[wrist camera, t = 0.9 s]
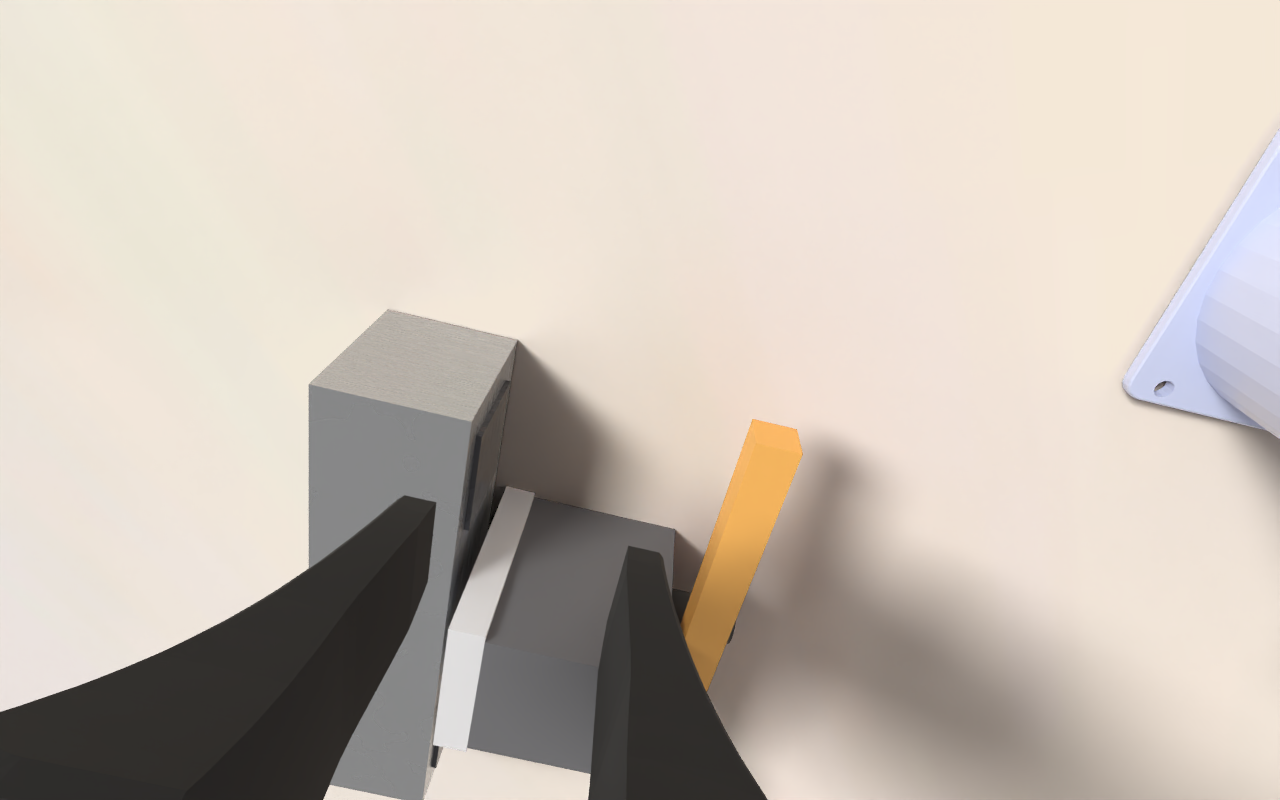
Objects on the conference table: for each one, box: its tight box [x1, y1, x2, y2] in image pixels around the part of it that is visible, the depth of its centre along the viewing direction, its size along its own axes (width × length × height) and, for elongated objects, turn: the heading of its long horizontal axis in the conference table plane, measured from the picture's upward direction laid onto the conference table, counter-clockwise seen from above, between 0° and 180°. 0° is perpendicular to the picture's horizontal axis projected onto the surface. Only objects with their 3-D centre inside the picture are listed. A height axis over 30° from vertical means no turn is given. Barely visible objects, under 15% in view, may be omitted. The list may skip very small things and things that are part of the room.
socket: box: [309, 310, 517, 800], centre depth 23 cm, size 4×16×5 cm, turn 167°
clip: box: [680, 419, 803, 692], centre depth 22 cm, size 3×18×2 cm, turn 167°
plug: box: [433, 487, 736, 774], centre depth 23 cm, size 9×5×6 cm, turn 77°
